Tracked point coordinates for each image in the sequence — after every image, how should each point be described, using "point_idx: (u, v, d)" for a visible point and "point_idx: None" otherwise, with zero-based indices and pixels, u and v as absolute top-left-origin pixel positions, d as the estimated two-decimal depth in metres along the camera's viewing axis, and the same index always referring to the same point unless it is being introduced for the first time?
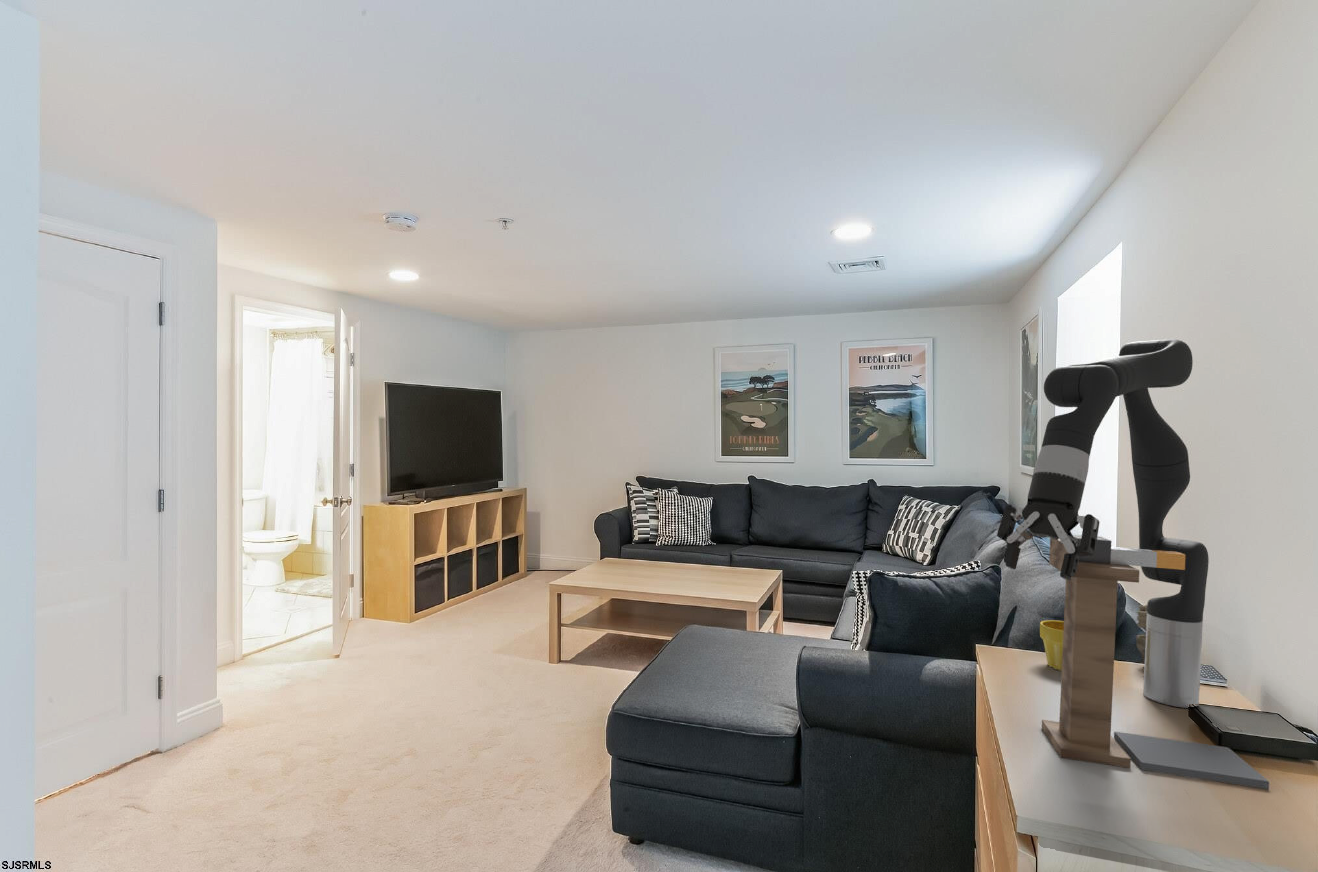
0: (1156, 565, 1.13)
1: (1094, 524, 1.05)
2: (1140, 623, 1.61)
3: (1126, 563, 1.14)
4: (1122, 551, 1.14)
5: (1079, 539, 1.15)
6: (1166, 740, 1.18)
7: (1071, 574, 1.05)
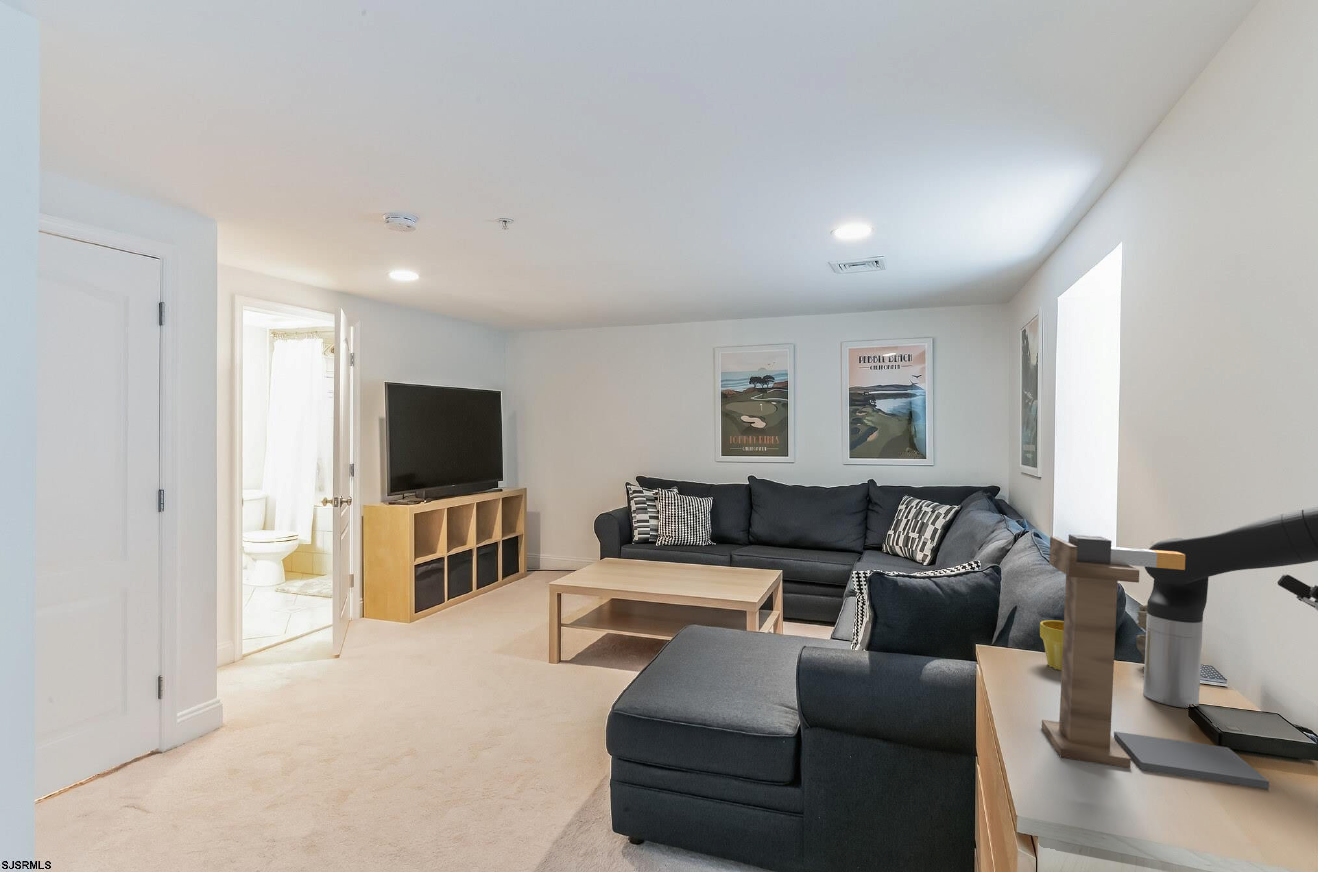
0: (1156, 565, 1.13)
1: None
2: (1140, 623, 1.61)
3: (1126, 563, 1.14)
4: (1122, 551, 1.14)
5: (1079, 539, 1.15)
6: (1166, 740, 1.18)
7: None
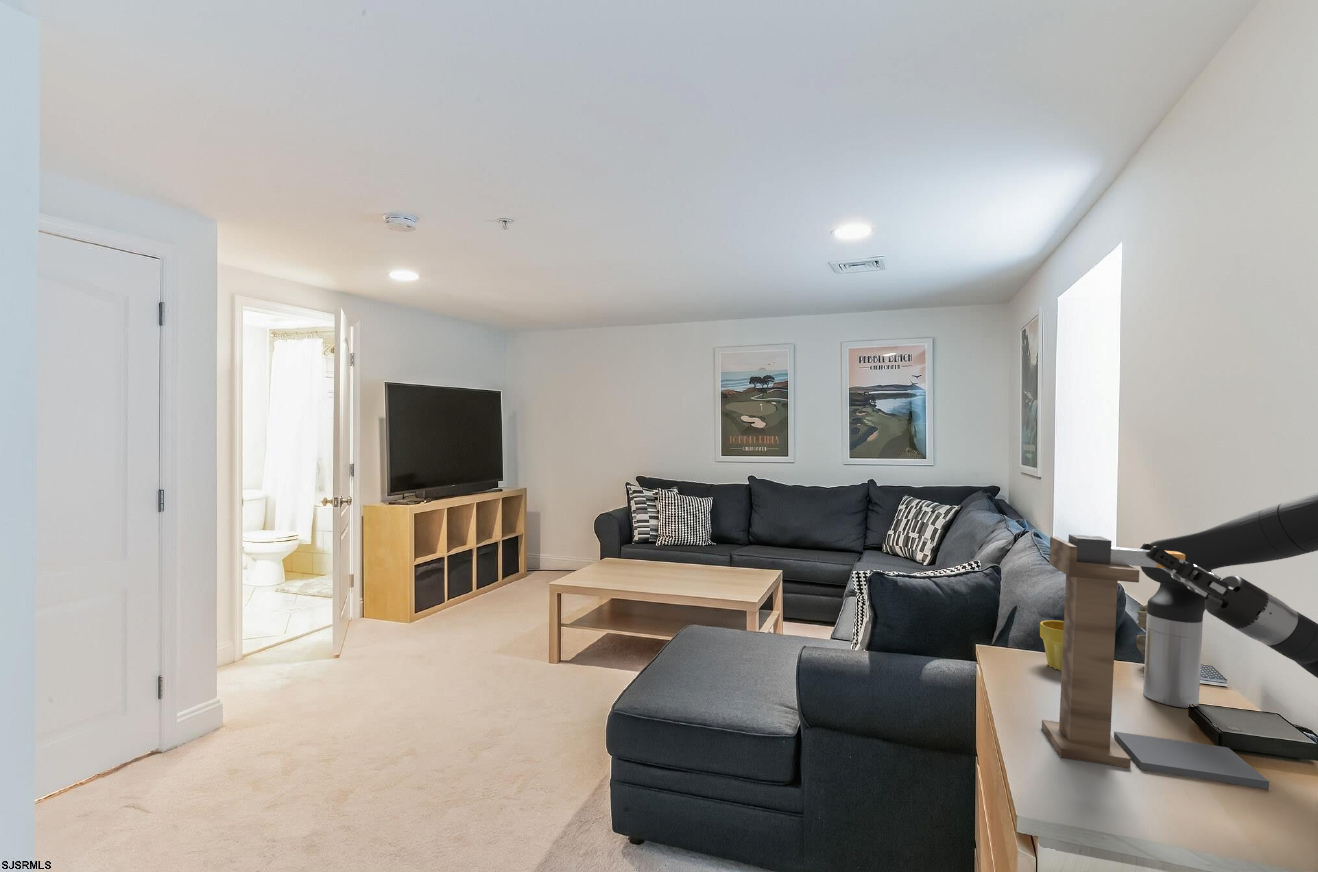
0: (1156, 565, 1.13)
1: None
2: (1140, 623, 1.61)
3: (1126, 563, 1.14)
4: (1122, 551, 1.14)
5: (1079, 539, 1.15)
6: (1166, 740, 1.18)
7: None
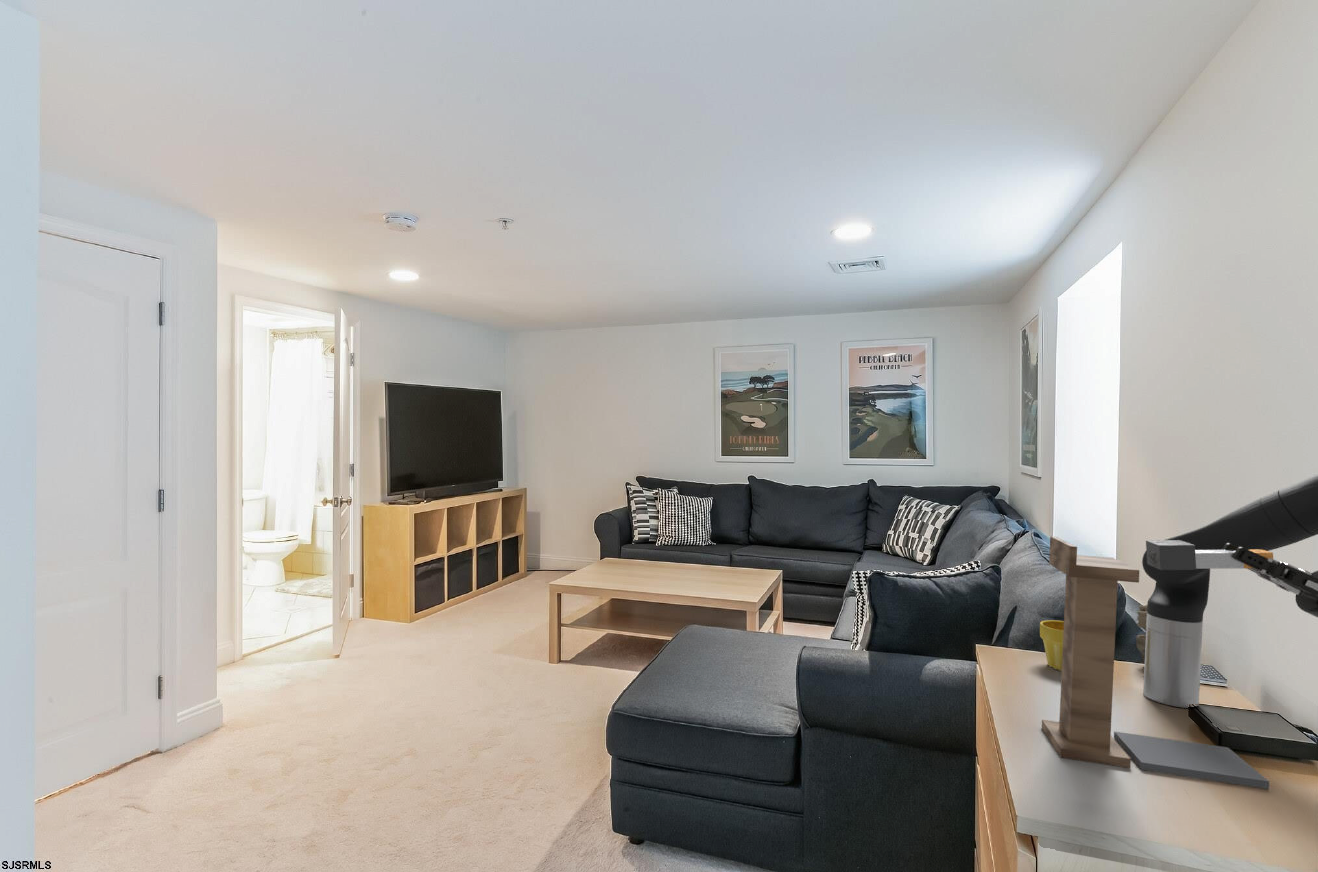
0: (1243, 566, 1.09)
1: None
2: (1140, 623, 1.61)
3: (1212, 566, 1.10)
4: (1206, 554, 1.10)
5: (1161, 546, 1.11)
6: (1166, 740, 1.18)
7: None
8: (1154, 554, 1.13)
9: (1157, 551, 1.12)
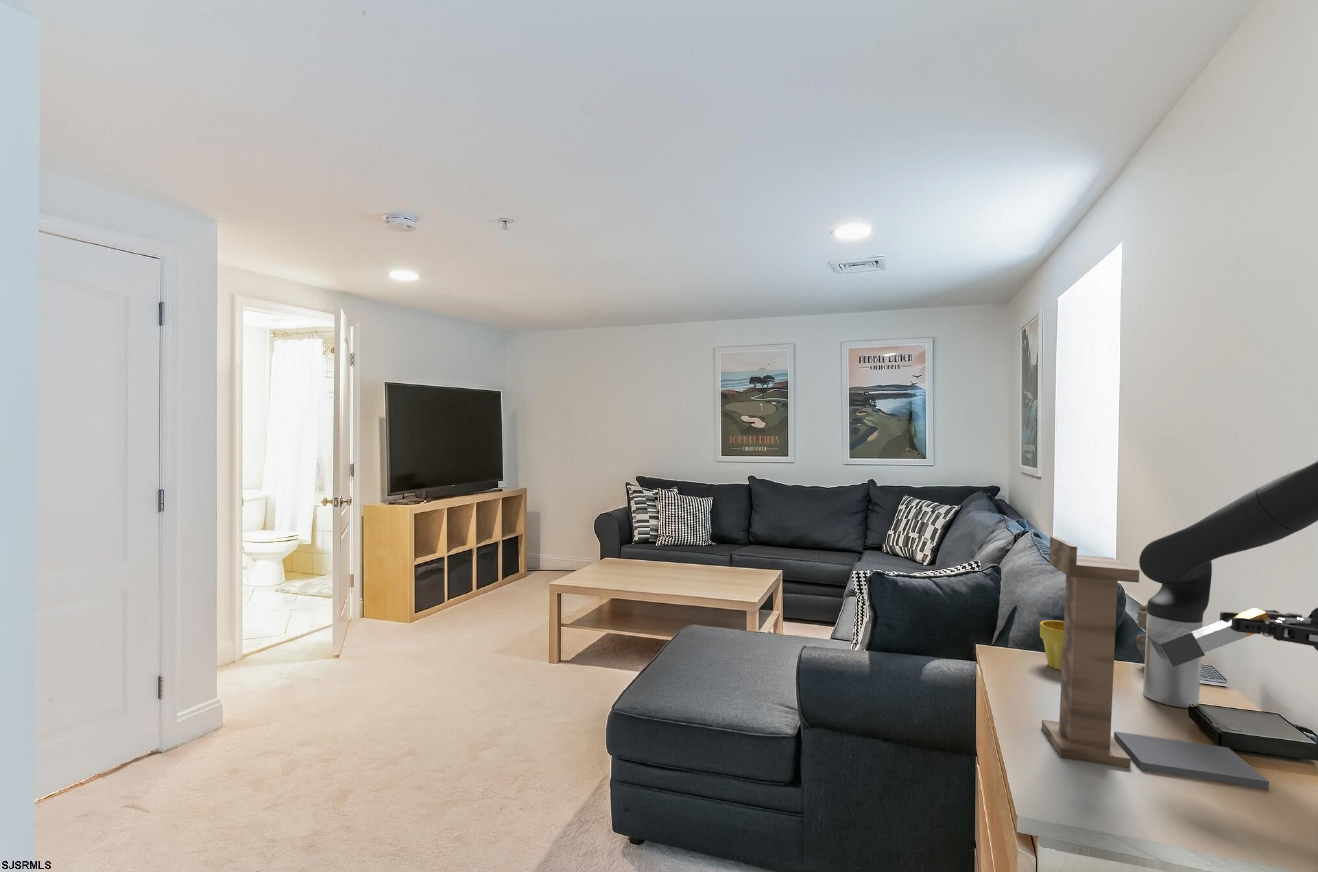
0: (1246, 634, 1.09)
1: None
2: (1140, 623, 1.61)
3: (1218, 645, 1.10)
4: (1207, 636, 1.11)
5: (1162, 644, 1.12)
6: (1166, 740, 1.18)
7: None
8: (1160, 651, 1.13)
9: (1161, 649, 1.12)
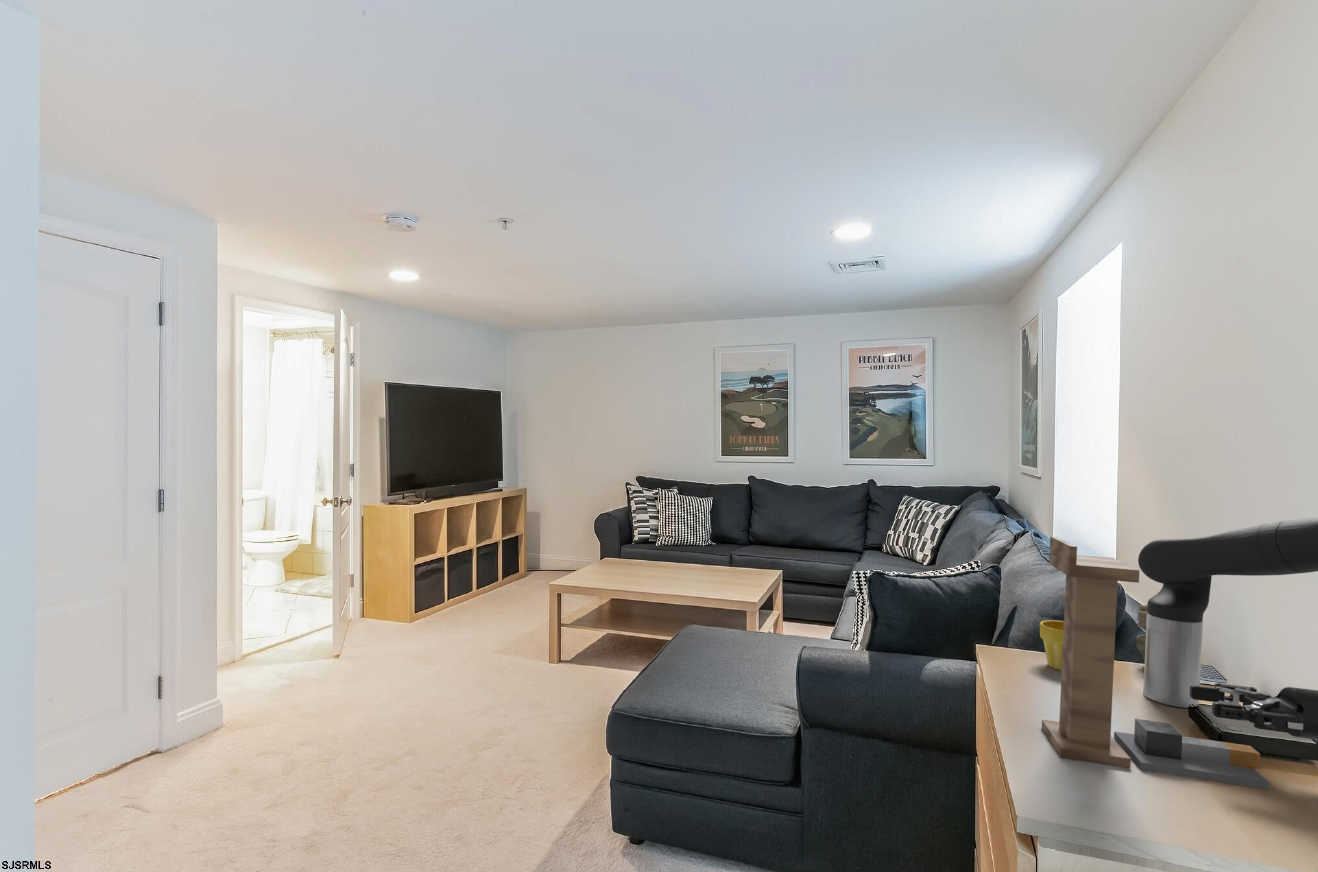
0: (1229, 762, 1.10)
1: None
2: (1140, 623, 1.61)
3: (1197, 758, 1.11)
4: (1193, 746, 1.11)
5: (1148, 731, 1.12)
6: None
7: None
8: (1141, 736, 1.14)
9: (1144, 735, 1.13)
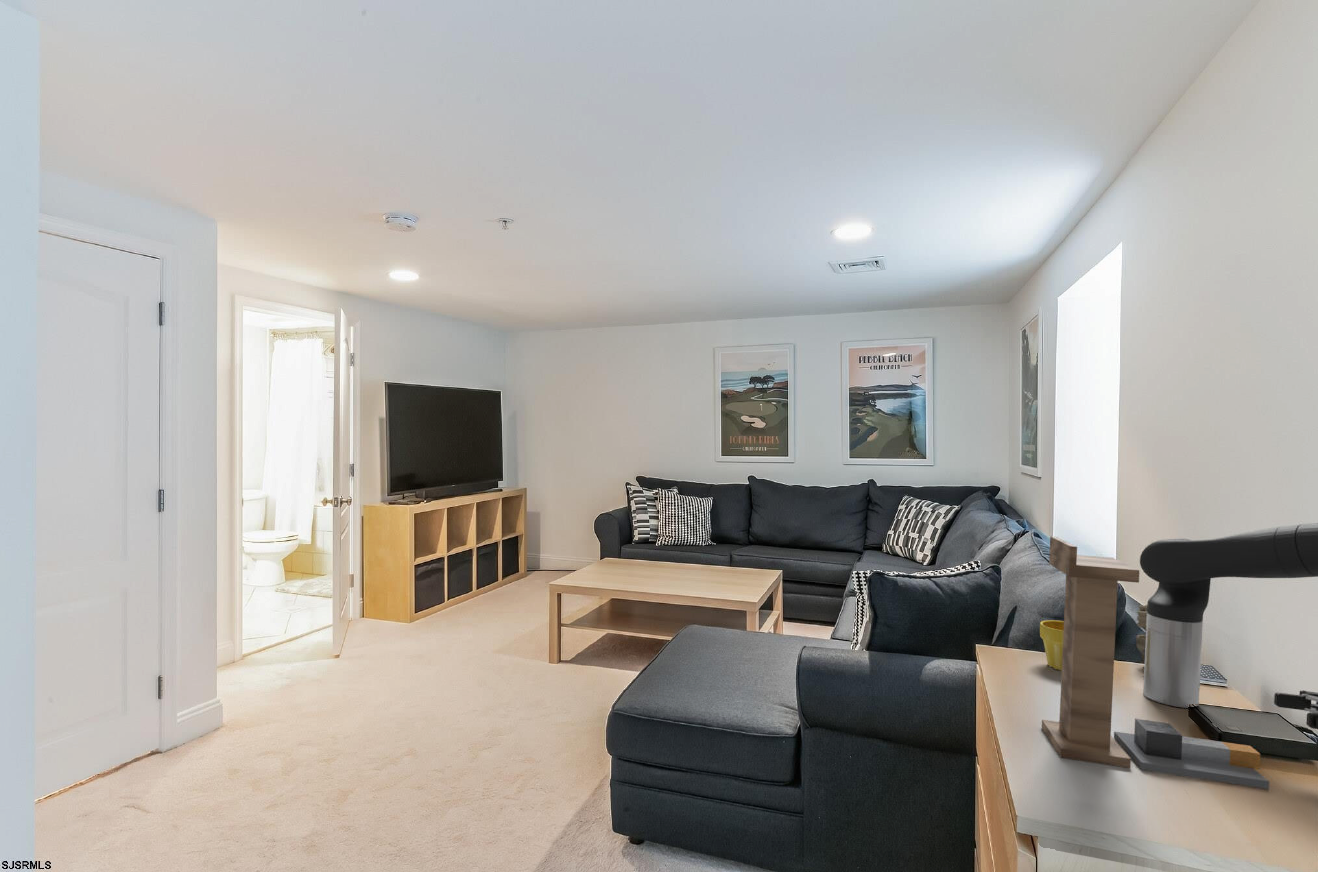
0: (1229, 762, 1.10)
1: None
2: (1140, 623, 1.61)
3: (1197, 758, 1.11)
4: (1193, 746, 1.11)
5: (1148, 731, 1.12)
6: None
7: None
8: (1141, 736, 1.14)
9: (1144, 735, 1.13)
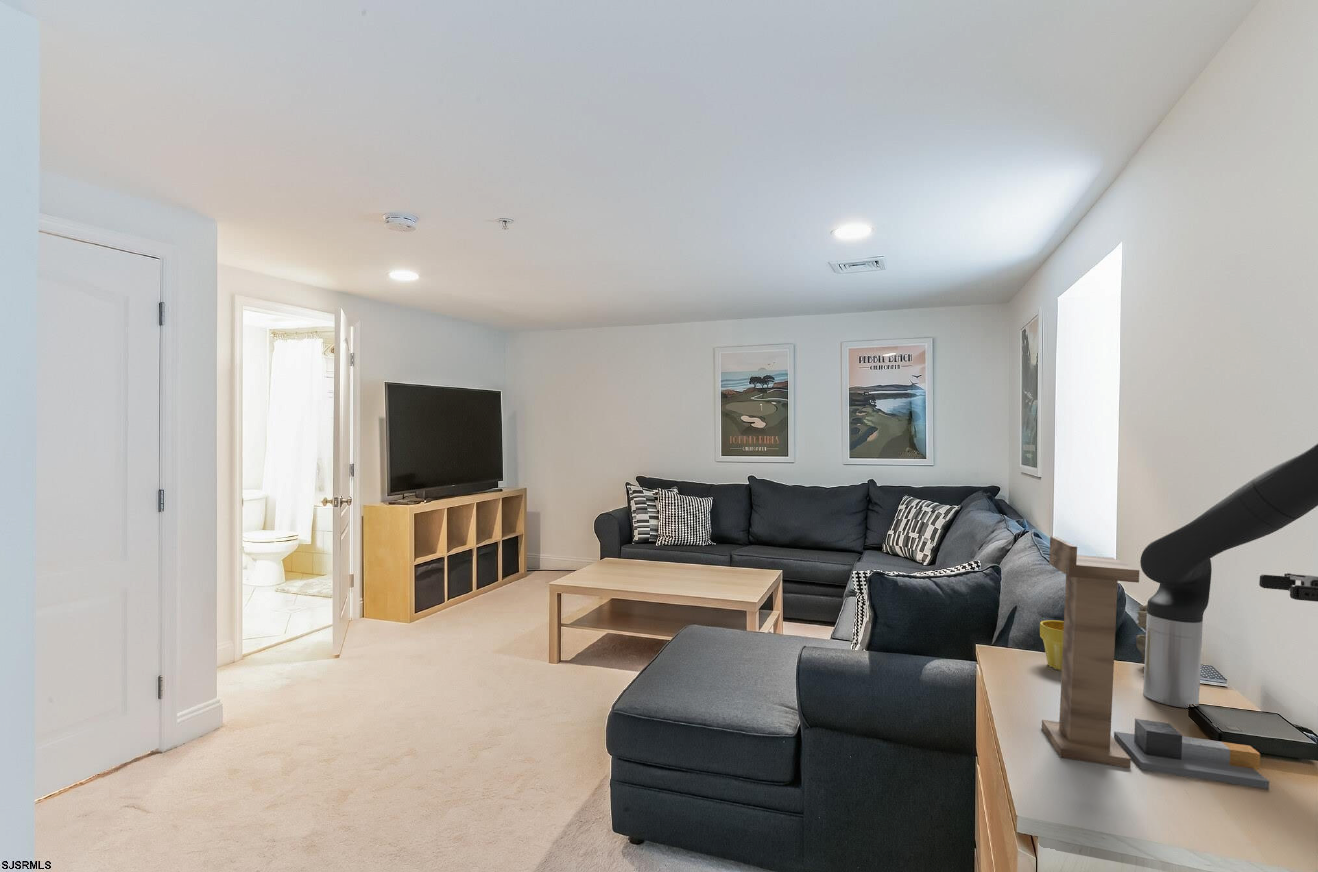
0: (1229, 762, 1.10)
1: None
2: (1140, 623, 1.61)
3: (1197, 758, 1.11)
4: (1193, 746, 1.11)
5: (1148, 731, 1.12)
6: None
7: None
8: (1141, 736, 1.14)
9: (1144, 735, 1.13)
